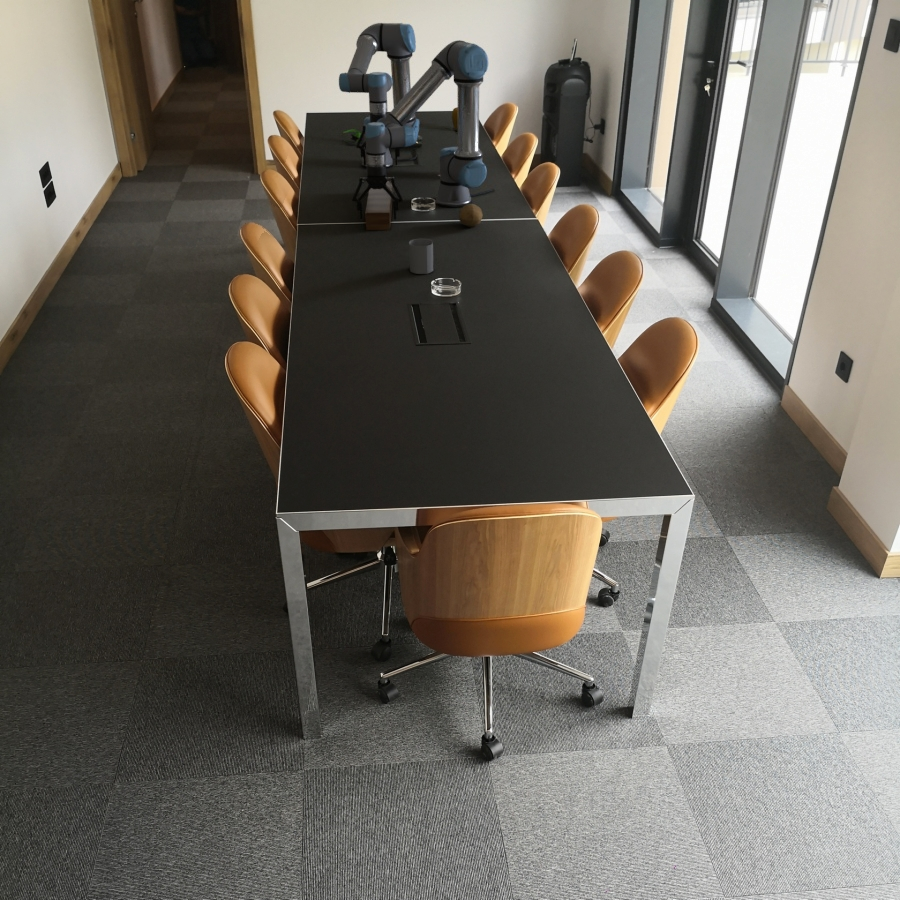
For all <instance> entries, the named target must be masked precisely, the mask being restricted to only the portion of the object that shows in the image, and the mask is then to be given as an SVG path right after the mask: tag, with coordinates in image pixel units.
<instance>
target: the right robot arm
mask: <svg viewBox="0 0 900 900" xmlns="http://www.w3.org/2000/svg"><path fill="white" fill-rule="evenodd" d="M488 68H489V57H488V54H487V52H486V50H484V49H483V47H481V46H479V45H478V44H476V43H472V42H467V41H465V40H461V39H460V40H459V39H458V40H453V41H451V42H450V43H448V44H447V45H445V46H444V47H443V48H442V49H441V50H440V51H439V52H438V53H437V54H436V56H434V58H433V59H432V60H431V65H430V66H429V68H428V69H427V70H426V71H425V72H424V74H422V76H421V77H420V78H418V80H417V81H416V82H415V84H413V86H412V87H411V89H410V90H409V92H408V93H407V94H406V95H405V96H404V97H403V98H402V99H401V101H400V102H399V103H398V104H397V105H396V106H395V107H394V106H393V108H392V110H391V111H390V112H389V113H387V114H388V115H387V116H386V118H381V119H379V120H378V121H377V122H372V123H368V124H367V125H366V130H365V137H366V158H367V164H368V165H367V168H366V177H363V176H360V177H359V181H358V184H357V187H356V188H355V191H354V193H353V196H352V198H351V200H352V202H354V203H356V210H357V211H358V212H359V218H360V220H363V201H362V200H363V199H364V197H365V196H366V195H367V193H369V190H370V189H371V188H372V189H382V188H383V189H384V190H385V191H386V192H387V193H388V194H389V195H390V196H391V198H392V199H393V219H394V220H397V211H399V210H400V209H399V208H400V207H399V205H400V202H403V200H404V197H403V195H402V193H401V191H400V189H399V187H398V185H397V183H396V180H395V176H390V177H391V178H387V177H388V176H387V168H386V165H385V164H386V148H389V149H395V148H396V147H403V148H406V147H411V146H413V145H414V142H415V132H414V129H413V127H411V126H404V125H405V124H406V123H407V122H408V121H409V120H410V118H411V117H412V116H413V115H414V114H415V115H416V113H417V112H418V111H419V110H420V109H421V108H422V106H423V105H424V104H425V103H426V102H427V101H428V100H429V99H430V97H431V96H433V94H434V93H435V92H436V91H437V90H438V88H439V87H440V86H441V85H442V84H444V82H445V81H449V80H450V79H451V78H452V77H453V83H454V84H455V85H456V87H457V107H458V131H457V146H448V147H444V148H441V150H440V152H439V175H440V176H439V186H438V190H437V195H436V196H435V204H437V205H439V206H441V207H446V208H462V207H463V206H464V205H467V204H472V197H478V196H481V195H484V194H485V195H486V194H488V193H492V192H495V188H491V189H488V190H484V191H481V192H478V193H470V189H476V188H478V187H480V186H481V185H482V184H483V183H484V182H485V180H486V178H487V175H488V174H487V173H488V171H487V165H486V164H485V163H484V162H483V151H482V150H481V149H480V86H481V85H482V83H484V75H485V74H486V73H487V72H488ZM387 181H389V182H390V183H392V186H393V192H392V191H391V190H390V189H389V188H388V186H387V185H386V183H387ZM365 182H366V183H367V185H366V187H365V188H364V189H363V190H362V192H361V193H360V190H361V188H362V186H363V184H365ZM394 192H395V193H396V194H395V193H394ZM359 193H360V194H359ZM358 195H359V196H358Z"/></svg>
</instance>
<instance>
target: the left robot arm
mask: <svg viewBox="0 0 900 900" xmlns="http://www.w3.org/2000/svg"><path fill="white" fill-rule="evenodd" d="M416 42H417V41H416V34H415V30H414V27H413V26H412V25H411V24H410V23H403V22H386V23H385V22H377V23H373V24H371V25H369V26H367V27H365V29H364V30H362V31H361V32H360V34H359V36H357V39H356V44H355V45H356V49H355V52H354V54H353V57H352V59H351V62H350V64H349V68H348V70H347V72H342V73H339V76H338V87H339V90H340V91H341V92H343V93H349V94H351V93H357V94H358V93H359V94H361V93H363V94H368V108H369V109H368V110H369V115H368V116H366V117H365V118H364V119H363V125H362V130H361V135H360V138H359V140H358V142H357V145H355V148H356V149H359V150H360V157H361V158H362V159H361V166H362V167H363V168H366V169H367V165H368V164H367V158H366V137H365V130H366V125H367V124H368V123H372V122H377V121H378V120H379V119H381V118H386V116H387V115H388V114H389V113H388V92H389V91H390V90H391V89H392V103H393V108H394V107H395V106H396V105H397V104H398V103H399V102H400V101H401V99H402V98H403V97H404V96H405V95H406V94H407V93H408V92H409V90H410V89H411V88H412V87H411V83H412V82H411V66H410V65H411V64H410V63H411V62H410V59H411V58H413V53H415V52H416V49H417V45H416ZM378 52H382V53H383V52H384V53H386V57H387V58H388V59H389V60H390V72H391V75H390V74H389V73H388V72H382V71H373V72H370V73H367V72H368V69H369V66H370V64H371V62H372V58H373V56H374V55H375V54H376V53H378ZM404 126H411V127H413V129H414V132H415V142H414V144H416V143H417V141H418V138H419V130H420V119H418V118H416V113H415V114H414V115H413V116H412V117H411V118H410V120H409V121H408V122H407V123H406V124H405V125H404ZM363 136H364V141H362V138H363ZM361 141H362V142H361ZM361 143H362V144H361ZM414 144H413V145H414ZM403 148H404V147H395V148H394V157H392V155H391V152H390V151H391V150H390V148H386V164H385V165H386V169H387V168H390V167H392V166H394V163H395V166H398V162H407V161H408V162H409V161H413V160H415V159H417V158H418V154H415V155H414V157H411V158H400V156H401V151H400V150H401V149H403Z"/></svg>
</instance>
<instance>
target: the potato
mask: <svg viewBox="0 0 900 900" xmlns="http://www.w3.org/2000/svg"><path fill="white" fill-rule="evenodd" d="M483 216H484V214H483V211H482V209H481V207H479V206H478V205H476V204H474V203H470V204H467V205H464V206H462V207H461V209H460V211H459V213H458V220H459V221H460V223H461V224H462V225H464V226H466V227H468V228H473V227H476V226H477V225H479V224H481V222H482V219H483Z"/></svg>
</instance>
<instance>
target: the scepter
mask: <svg viewBox="0 0 900 900" xmlns="http://www.w3.org/2000/svg"><path fill="white" fill-rule="evenodd" d="M349 132H355V133H351V134H350V136H351V137H350V140H352V141H355V142H351V141H347V140H345V139H341V141H342V142H344V143H346V144H348V145H354V146H356V145H357V142H358V140H359V138H360V135H361V133H362V131H360V130H359V129H355V128H354V129H353V128H351V129H347V130H345V131H342V134H345V133H349ZM363 142H364V136H363V138H362V141H361V143H363Z"/></svg>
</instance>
